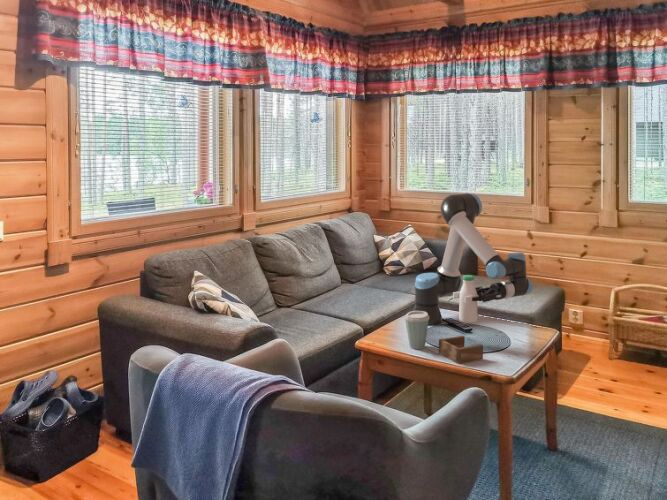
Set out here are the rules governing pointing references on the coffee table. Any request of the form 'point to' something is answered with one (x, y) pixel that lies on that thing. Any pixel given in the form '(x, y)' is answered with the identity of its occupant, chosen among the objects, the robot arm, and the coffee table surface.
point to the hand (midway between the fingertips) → (459, 297)
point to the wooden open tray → (460, 350)
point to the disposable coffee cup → (417, 328)
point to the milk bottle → (467, 309)
